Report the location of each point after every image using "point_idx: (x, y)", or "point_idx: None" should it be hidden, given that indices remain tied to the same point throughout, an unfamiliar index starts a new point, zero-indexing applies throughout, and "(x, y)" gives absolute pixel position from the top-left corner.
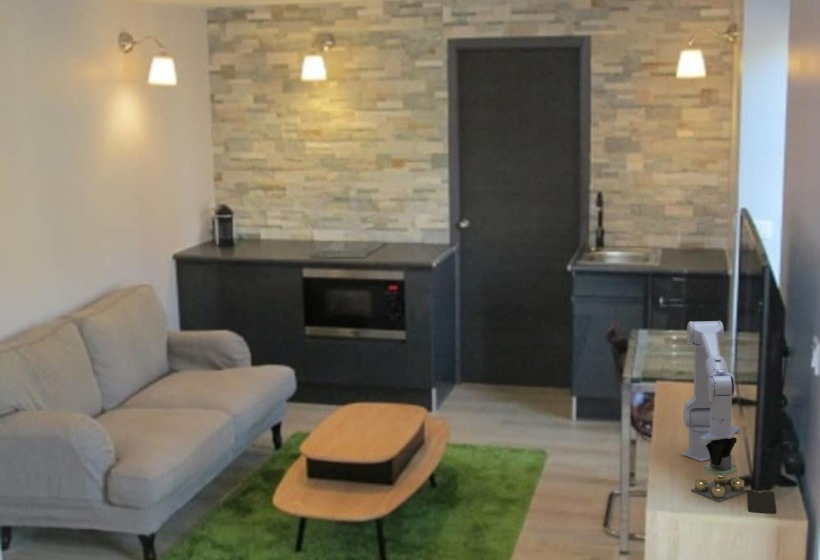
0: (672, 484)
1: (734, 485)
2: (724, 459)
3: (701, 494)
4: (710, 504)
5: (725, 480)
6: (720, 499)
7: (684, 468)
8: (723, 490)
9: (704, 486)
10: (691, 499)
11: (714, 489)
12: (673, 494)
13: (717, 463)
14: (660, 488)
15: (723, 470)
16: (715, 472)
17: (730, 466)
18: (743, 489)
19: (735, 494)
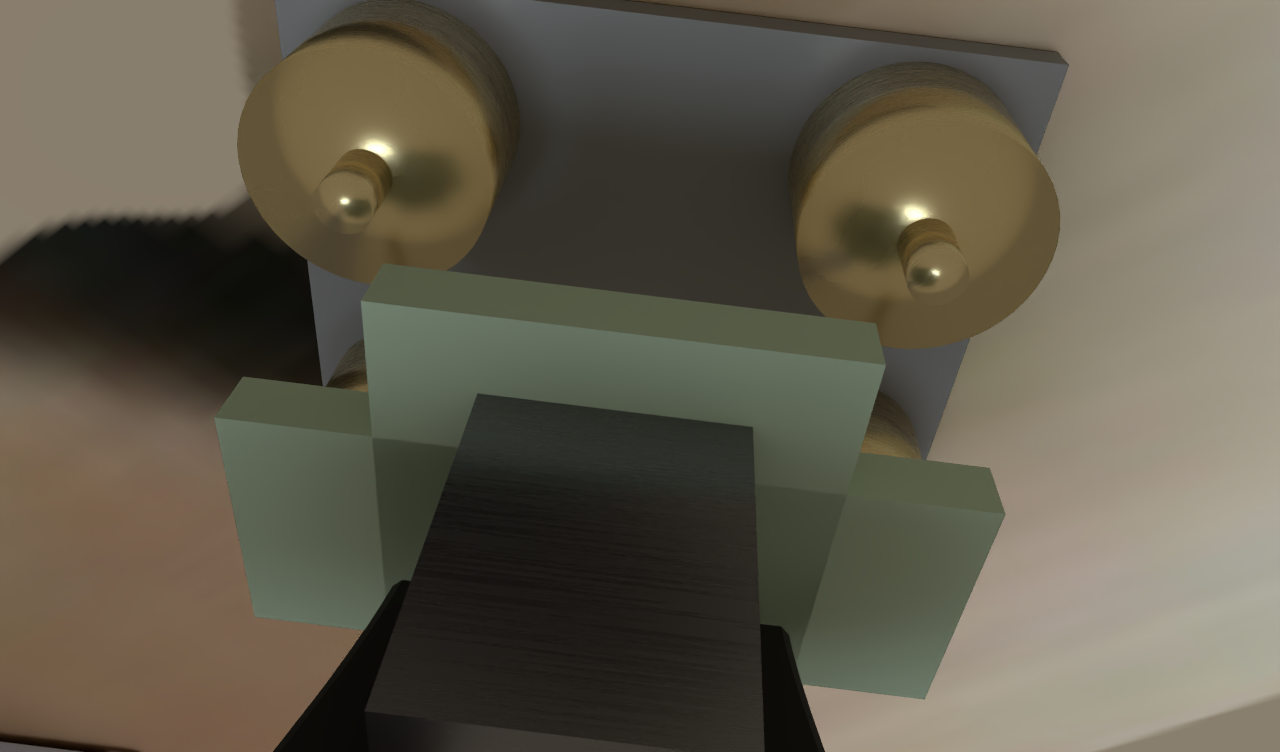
0: (836, 704)
1: (497, 143)
2: (742, 700)
3: (944, 384)
4: (1217, 107)
5: None
6: (1016, 66)
7: None
8: (958, 118)
9: (887, 449)
10: (1160, 395)
11: (1027, 260)
12: (1112, 595)
13: (801, 686)
14: (1019, 729)
15: (751, 448)
16: (948, 513)
17: (483, 440)
18: (365, 4)
19: (614, 7)
